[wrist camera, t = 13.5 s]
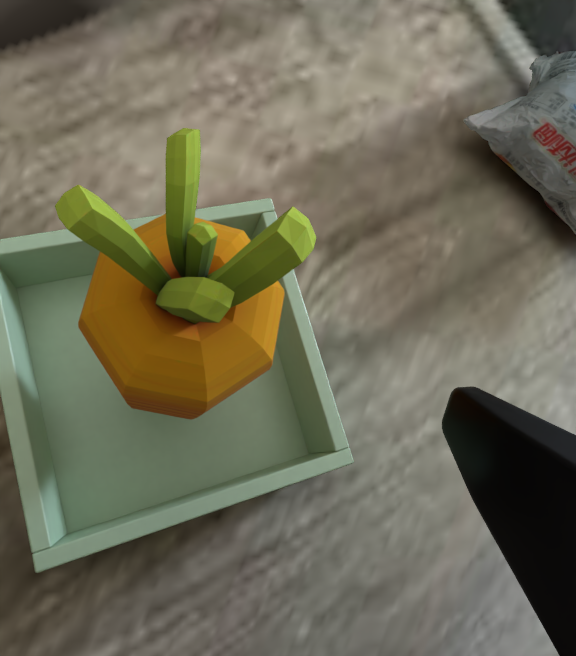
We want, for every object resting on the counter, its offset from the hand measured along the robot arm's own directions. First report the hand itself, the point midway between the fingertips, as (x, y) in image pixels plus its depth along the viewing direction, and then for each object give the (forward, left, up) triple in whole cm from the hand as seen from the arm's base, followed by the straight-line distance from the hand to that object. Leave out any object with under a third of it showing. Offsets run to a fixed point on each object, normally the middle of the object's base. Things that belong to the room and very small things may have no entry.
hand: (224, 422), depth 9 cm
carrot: (+3, 0, -13) cm, 14 cm away
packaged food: (+9, -25, -14) cm, 30 cm away
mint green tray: (+3, 0, -14) cm, 14 cm away
